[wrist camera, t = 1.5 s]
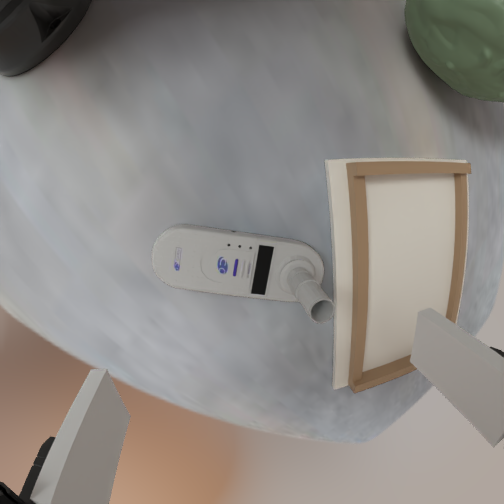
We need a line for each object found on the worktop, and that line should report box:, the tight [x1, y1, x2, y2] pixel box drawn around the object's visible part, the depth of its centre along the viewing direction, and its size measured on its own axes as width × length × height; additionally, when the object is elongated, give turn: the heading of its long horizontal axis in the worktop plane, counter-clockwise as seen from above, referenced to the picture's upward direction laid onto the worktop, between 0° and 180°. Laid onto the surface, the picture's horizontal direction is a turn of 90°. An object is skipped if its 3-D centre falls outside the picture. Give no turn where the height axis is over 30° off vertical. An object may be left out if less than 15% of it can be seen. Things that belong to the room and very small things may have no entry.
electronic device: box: [152, 224, 335, 324], centre depth 21 cm, size 5×10×15 cm
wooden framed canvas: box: [324, 158, 471, 393], centre depth 27 cm, size 26×20×3 cm
